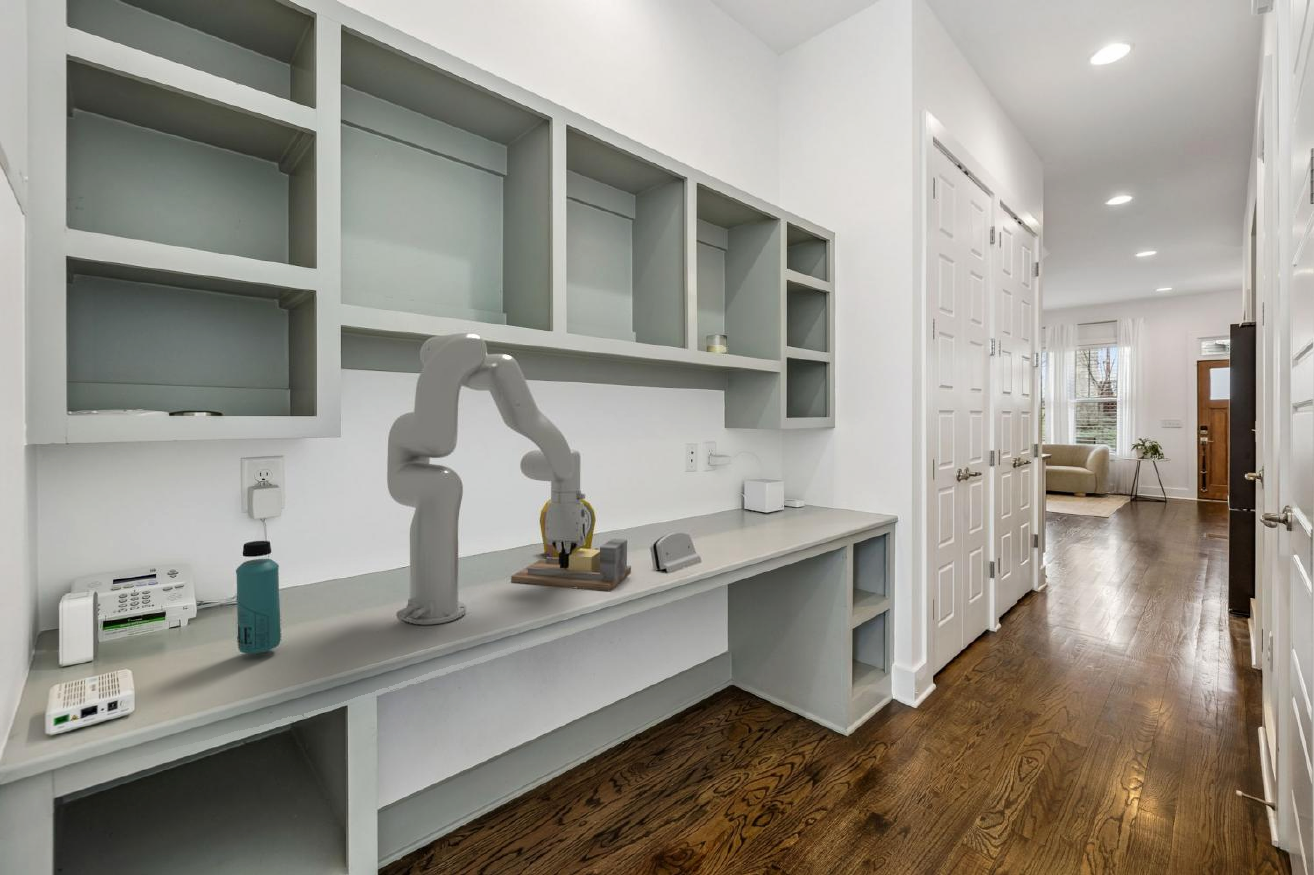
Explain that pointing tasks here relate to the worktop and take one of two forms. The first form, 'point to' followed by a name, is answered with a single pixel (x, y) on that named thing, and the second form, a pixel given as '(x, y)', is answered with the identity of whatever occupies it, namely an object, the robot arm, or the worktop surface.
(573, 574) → the base
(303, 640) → the worktop surface
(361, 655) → the worktop surface
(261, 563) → the beverage bottle
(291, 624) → the worktop surface
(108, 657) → the worktop surface
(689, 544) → the hinge
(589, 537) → the alarm clock
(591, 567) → the block
